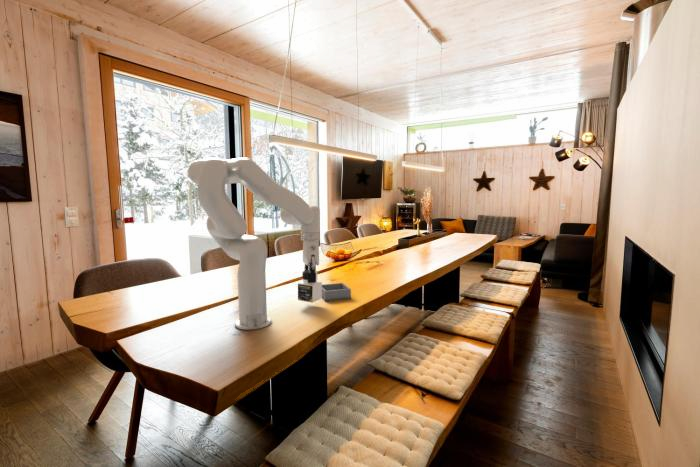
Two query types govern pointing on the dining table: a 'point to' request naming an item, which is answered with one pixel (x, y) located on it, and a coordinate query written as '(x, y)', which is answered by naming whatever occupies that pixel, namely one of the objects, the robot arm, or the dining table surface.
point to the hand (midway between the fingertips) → (309, 280)
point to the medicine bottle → (309, 289)
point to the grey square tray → (335, 292)
